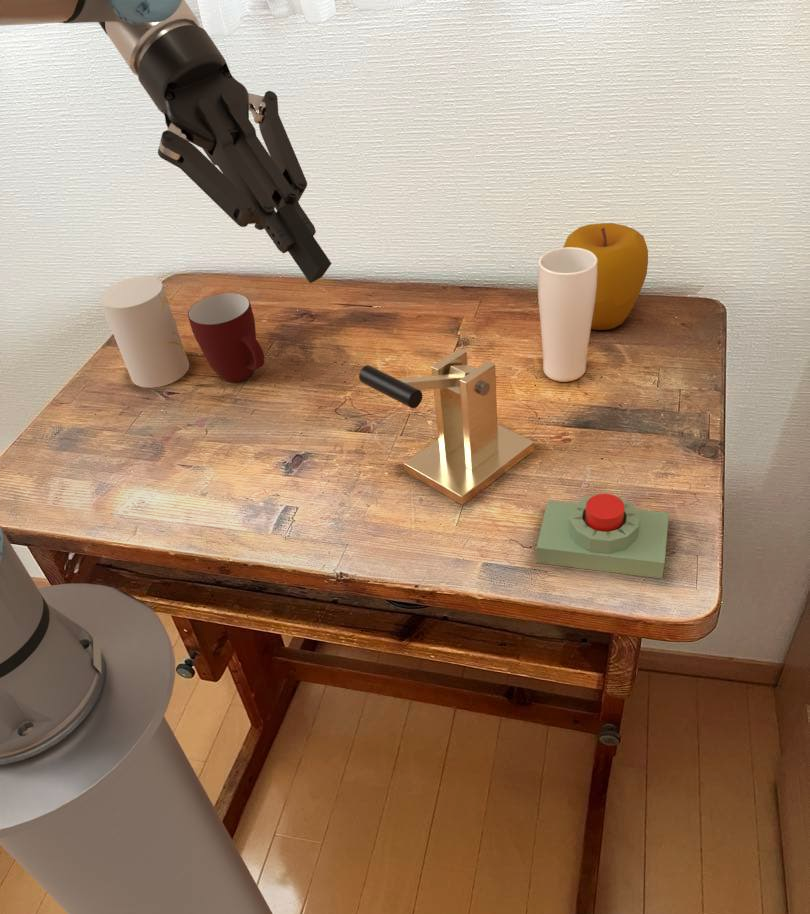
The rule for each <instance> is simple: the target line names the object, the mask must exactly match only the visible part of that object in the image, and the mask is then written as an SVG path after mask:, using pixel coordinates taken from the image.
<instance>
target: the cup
mask: <svg viewBox="0 0 810 914" xmlns="http://www.w3.org/2000/svg"><path fill="white" fill-rule="evenodd" d="M99 302H100V305H101V307H102V309H103V312H104V314H105V317H106V320H107V322H108V325H109V327H110V329H111V332H112V335H113V337H114V339H115V342H116V344H117V347H118V350H119V352H120V354H121V357H122V359H123V361H124V364H125V367H126V369H127V372H128V375H129V378H130V379H131V382H132V383H133V384H134V385H136V386H138V387H141V388H146V389H150V388H151V389H153V388H154V389H155V388H160V387H164V386H167V385H171V384H173V383H175V382H176V381H178V380H180V379H181V378H183V377H184V376H185V375H186V374H187V372H188V371H189V369H190V362H189V359H188V356H187V353H186V350H185V348H184V347H185V346H184V344H183V341H182V338H181V336H180V332H179V330H178V329H179V328H178V327H177V323H176V321H175V317H174V314H173V311H172V309H171V305H170V302H169V299H168V297H167V294H166V291H165V287H164V284H163V283H162V281H161V280H160V279H158V278H156V277H153V276H135V277H130V278H126V279H123V280H120V281H117V282H115V283H113V284H111V285H110V286H108V287H106V288H105V289H104V290H103V291H102V292H101V294H100V295H99Z"/></svg>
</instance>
